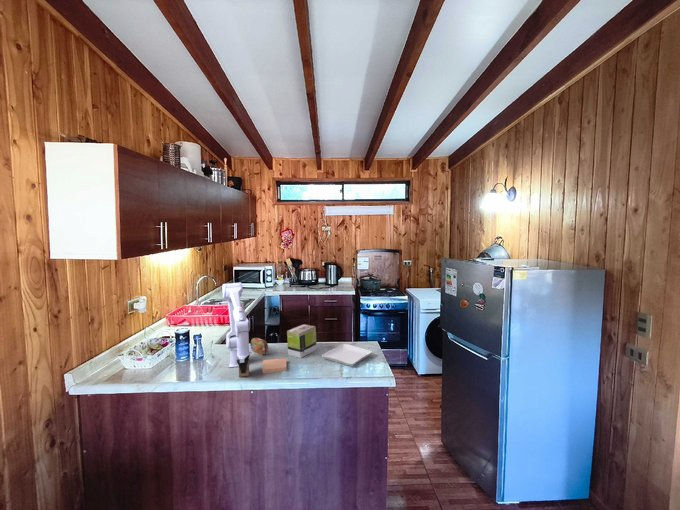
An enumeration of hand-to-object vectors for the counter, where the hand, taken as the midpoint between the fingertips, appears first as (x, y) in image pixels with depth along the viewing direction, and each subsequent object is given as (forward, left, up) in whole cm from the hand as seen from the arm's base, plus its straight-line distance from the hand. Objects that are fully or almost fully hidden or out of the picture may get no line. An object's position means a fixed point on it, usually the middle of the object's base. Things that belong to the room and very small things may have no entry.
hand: (244, 370), depth 162 cm
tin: (-29, +6, -3) cm, 29 cm away
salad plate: (-9, +55, -3) cm, 56 cm away
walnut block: (0, 0, -2) cm, 2 cm away
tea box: (-23, +31, -3) cm, 39 cm away
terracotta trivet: (-6, +15, -3) cm, 16 cm away
